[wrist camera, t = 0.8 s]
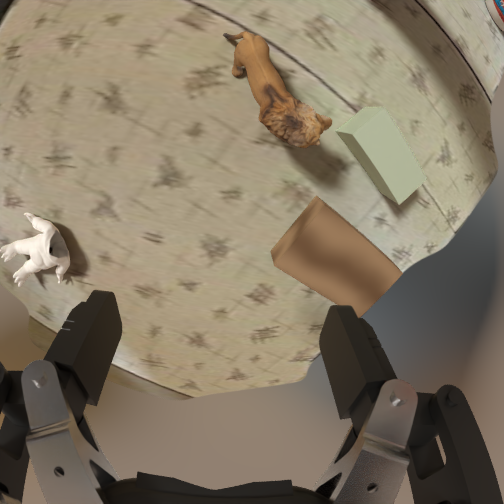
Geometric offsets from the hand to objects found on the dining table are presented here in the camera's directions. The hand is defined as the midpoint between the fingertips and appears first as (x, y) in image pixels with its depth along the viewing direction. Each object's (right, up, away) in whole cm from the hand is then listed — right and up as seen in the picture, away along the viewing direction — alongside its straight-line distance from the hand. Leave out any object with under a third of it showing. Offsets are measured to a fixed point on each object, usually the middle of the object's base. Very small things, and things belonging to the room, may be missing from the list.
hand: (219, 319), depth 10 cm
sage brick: (+16, +15, +20) cm, 29 cm away
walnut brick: (+13, +2, +27) cm, 29 cm away
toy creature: (-30, +3, +23) cm, 38 cm away
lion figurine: (+3, +20, +16) cm, 26 cm away
